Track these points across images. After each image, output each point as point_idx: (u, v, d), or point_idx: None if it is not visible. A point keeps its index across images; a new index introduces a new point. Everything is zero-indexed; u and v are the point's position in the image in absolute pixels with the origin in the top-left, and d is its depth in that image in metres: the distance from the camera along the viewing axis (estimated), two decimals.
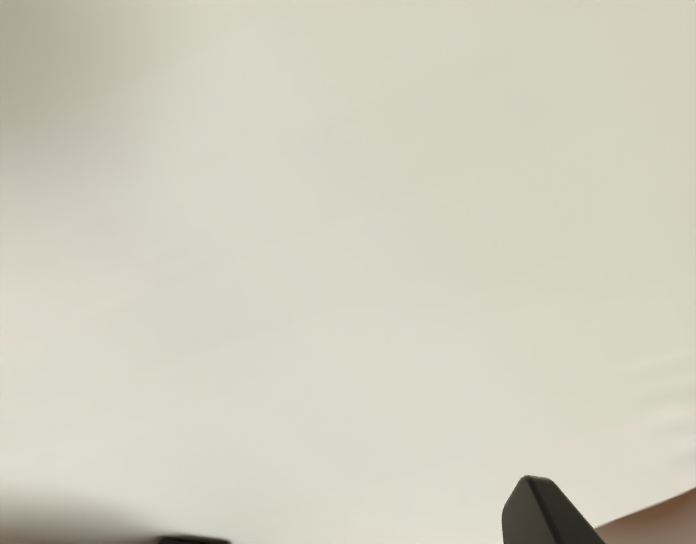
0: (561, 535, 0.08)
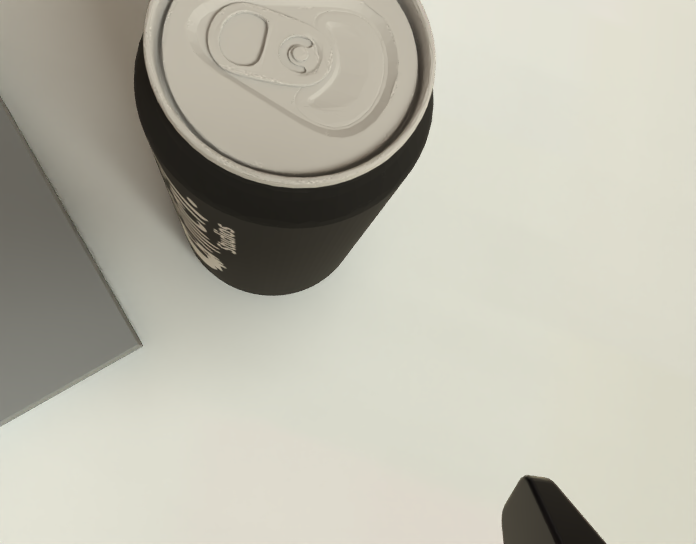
0: (561, 535, 0.08)
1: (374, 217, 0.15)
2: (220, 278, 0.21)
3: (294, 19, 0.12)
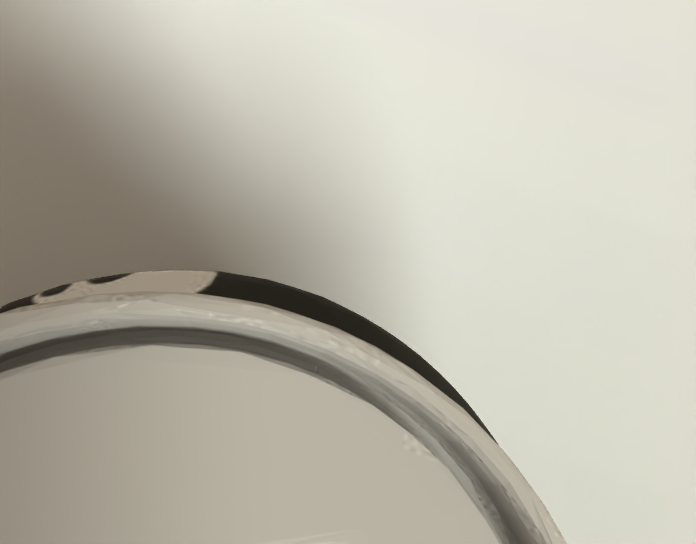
0: None
1: None
2: None
3: None
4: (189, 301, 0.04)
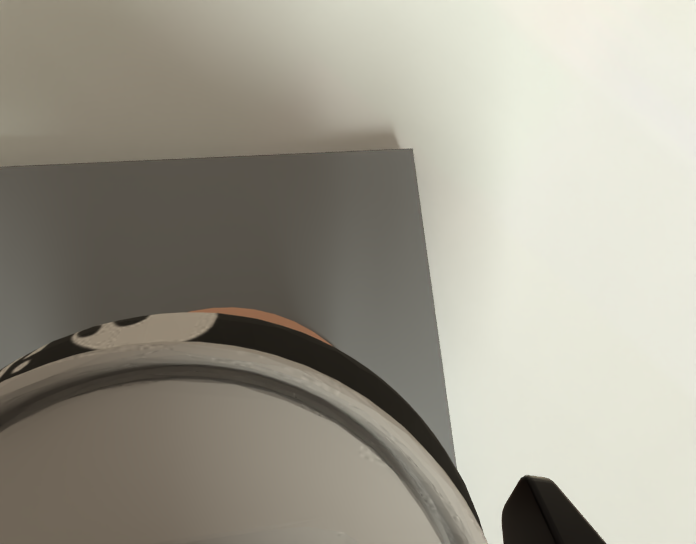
0: (561, 535, 0.08)
1: None
2: None
3: None
4: (197, 349, 0.05)
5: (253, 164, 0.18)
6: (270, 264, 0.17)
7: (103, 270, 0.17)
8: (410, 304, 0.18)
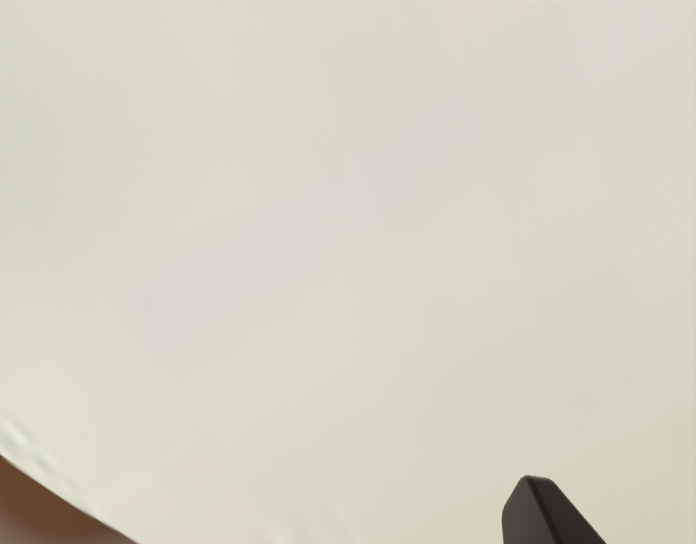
0: (561, 535, 0.08)
1: None
2: None
3: None
4: None
5: None
6: None
7: None
8: None
